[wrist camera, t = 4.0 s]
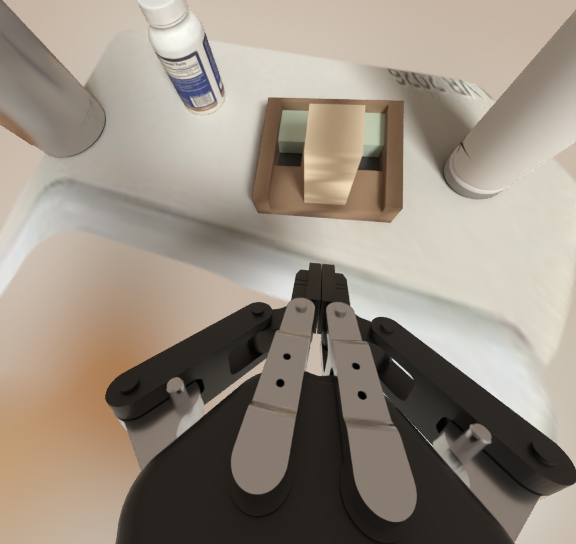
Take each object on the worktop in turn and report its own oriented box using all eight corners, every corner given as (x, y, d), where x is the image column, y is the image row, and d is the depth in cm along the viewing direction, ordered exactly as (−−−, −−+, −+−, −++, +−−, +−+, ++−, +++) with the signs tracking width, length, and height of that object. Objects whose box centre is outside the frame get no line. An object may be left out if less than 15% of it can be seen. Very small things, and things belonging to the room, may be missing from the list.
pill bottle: (199, 77, 30) (150, -37, 20) (234, 90, 29) (199, -23, 20) (177, 108, 29) (115, 4, 20) (211, 122, 28) (164, 21, 19)
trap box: (258, 212, 25) (252, 198, 22) (272, 121, 28) (268, 97, 25) (390, 222, 24) (402, 208, 21) (392, 125, 26) (403, 100, 23)
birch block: (304, 202, 23) (304, 150, 16) (308, 167, 24) (309, 103, 17) (345, 205, 22) (362, 153, 16) (347, 169, 23) (365, 105, 16)
